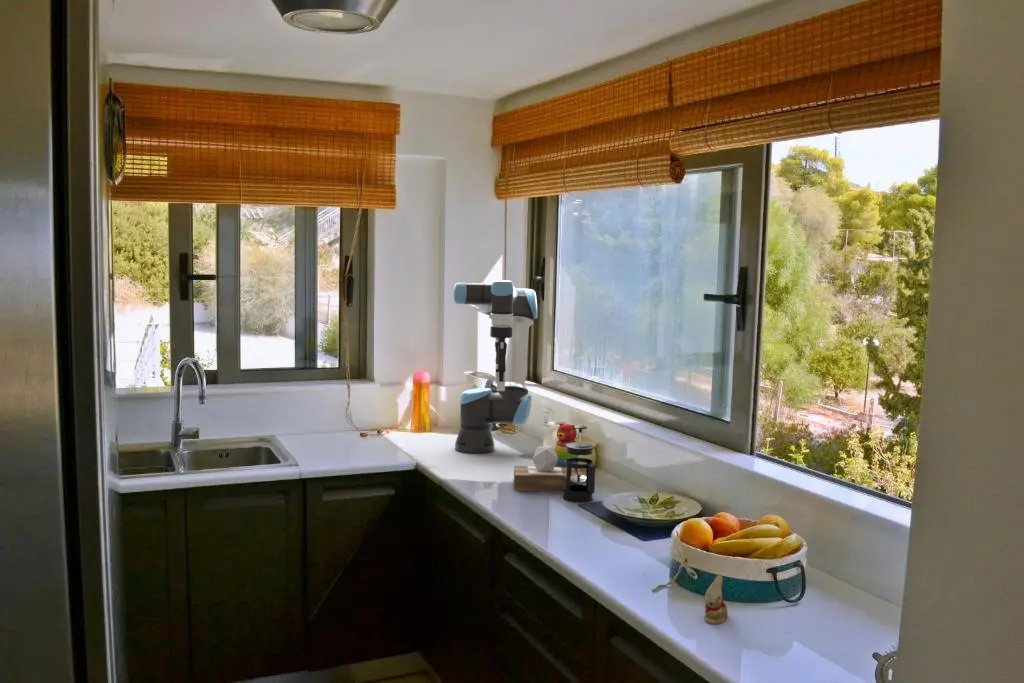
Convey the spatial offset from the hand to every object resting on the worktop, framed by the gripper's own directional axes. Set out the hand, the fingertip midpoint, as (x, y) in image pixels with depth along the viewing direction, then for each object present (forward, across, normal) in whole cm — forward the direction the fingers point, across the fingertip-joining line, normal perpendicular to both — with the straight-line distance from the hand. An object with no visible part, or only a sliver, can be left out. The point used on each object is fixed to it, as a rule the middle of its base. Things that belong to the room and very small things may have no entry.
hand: (499, 387), depth 311 cm
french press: (+29, +34, +24) cm, 51 cm away
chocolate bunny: (+26, +124, +42) cm, 134 cm away
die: (+24, +19, +14) cm, 34 cm away
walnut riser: (+29, +19, +15) cm, 38 cm away
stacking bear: (+30, +5, +23) cm, 38 cm away
